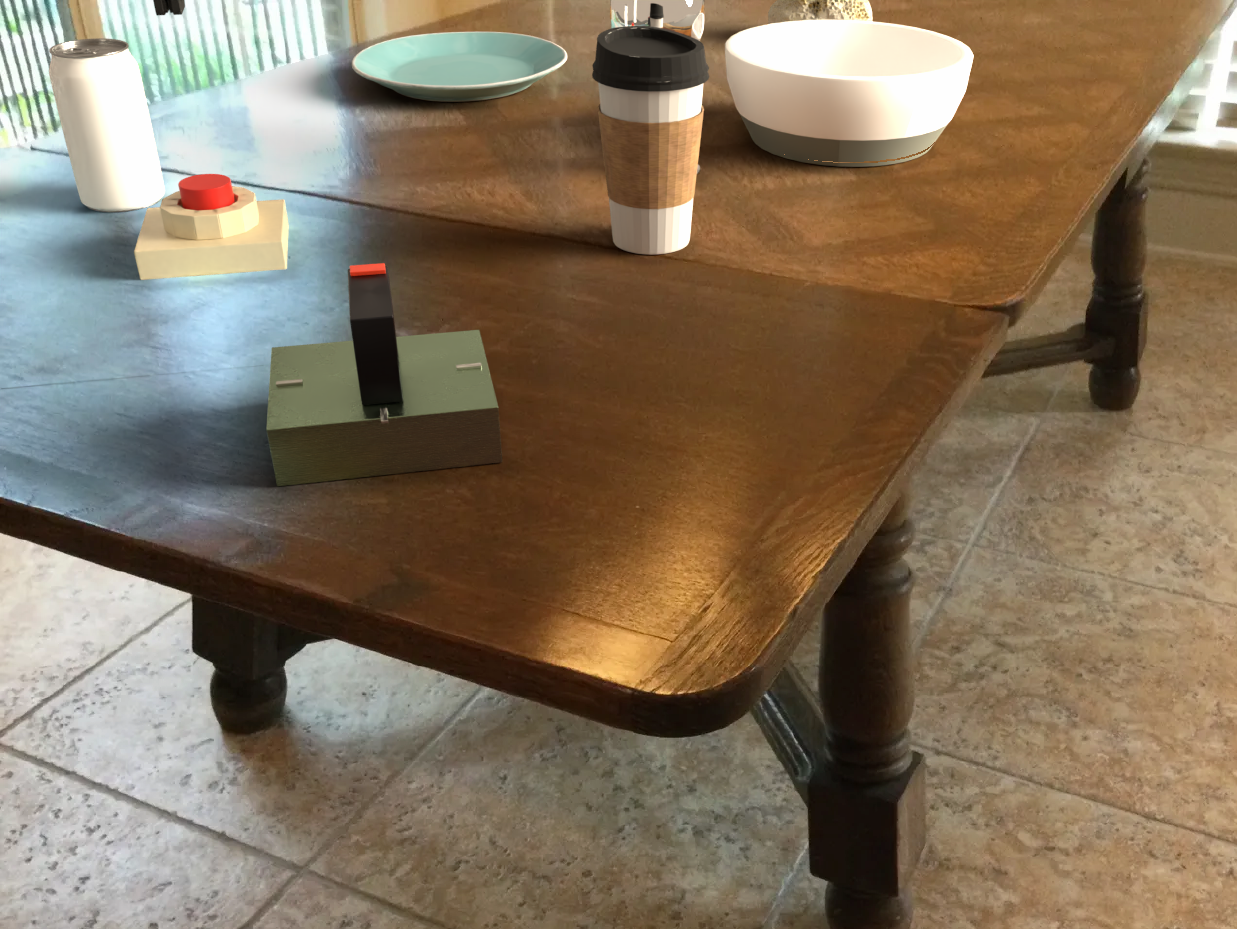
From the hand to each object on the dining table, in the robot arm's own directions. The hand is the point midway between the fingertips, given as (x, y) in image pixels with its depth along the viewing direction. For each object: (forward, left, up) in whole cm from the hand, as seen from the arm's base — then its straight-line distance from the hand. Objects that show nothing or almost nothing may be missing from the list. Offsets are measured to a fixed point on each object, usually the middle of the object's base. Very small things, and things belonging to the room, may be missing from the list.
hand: (171, 10), depth 87 cm
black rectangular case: (+11, -30, -14) cm, 35 cm away
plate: (+22, +44, -17) cm, 52 cm away
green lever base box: (+11, -30, -17) cm, 36 cm away
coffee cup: (+32, -4, -17) cm, 37 cm away
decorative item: (+65, +55, -17) cm, 87 cm away
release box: (0, 0, -17) cm, 17 cm away
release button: (0, 0, -14) cm, 14 cm away
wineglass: (+36, +12, -17) cm, 42 cm away
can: (-8, +13, -17) cm, 23 cm away
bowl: (+55, +18, -17) cm, 60 cm away
